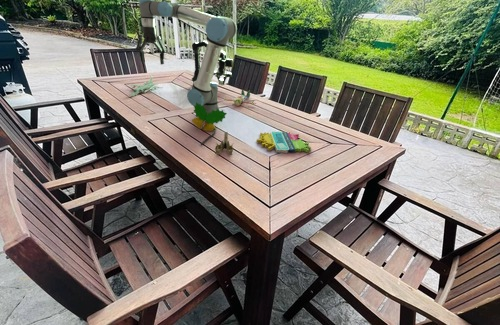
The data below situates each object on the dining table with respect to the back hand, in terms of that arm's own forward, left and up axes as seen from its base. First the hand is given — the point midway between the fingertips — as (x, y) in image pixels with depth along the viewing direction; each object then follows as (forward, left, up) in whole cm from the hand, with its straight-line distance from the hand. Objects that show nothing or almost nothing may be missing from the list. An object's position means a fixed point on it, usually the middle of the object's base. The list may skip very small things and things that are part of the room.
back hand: (221, 83), depth 247 cm
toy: (+38, -12, -6) cm, 40 cm away
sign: (+110, -55, -6) cm, 123 cm away
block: (0, 0, -1) cm, 1 cm away
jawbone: (+96, -87, -6) cm, 130 cm away
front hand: (+20, -80, +27) cm, 86 cm away
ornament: (+67, -72, -6) cm, 99 cm away
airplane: (-34, -60, -6) cm, 69 cm away
